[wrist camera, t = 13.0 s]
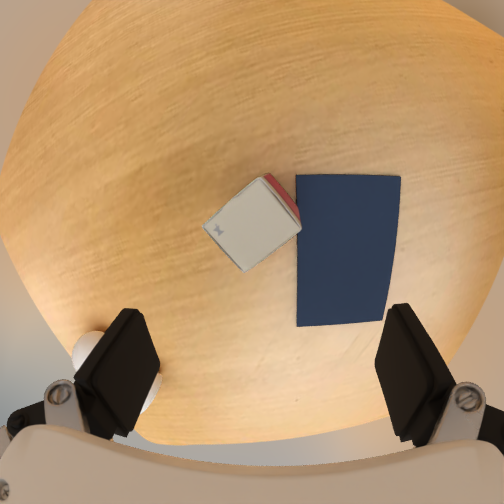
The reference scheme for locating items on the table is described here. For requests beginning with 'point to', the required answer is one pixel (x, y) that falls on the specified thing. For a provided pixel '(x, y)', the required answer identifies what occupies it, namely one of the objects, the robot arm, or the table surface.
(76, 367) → the white rounded piece
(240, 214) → the small box
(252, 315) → the table surface
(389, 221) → the cloth
